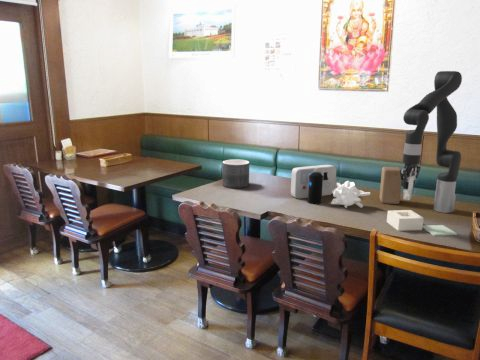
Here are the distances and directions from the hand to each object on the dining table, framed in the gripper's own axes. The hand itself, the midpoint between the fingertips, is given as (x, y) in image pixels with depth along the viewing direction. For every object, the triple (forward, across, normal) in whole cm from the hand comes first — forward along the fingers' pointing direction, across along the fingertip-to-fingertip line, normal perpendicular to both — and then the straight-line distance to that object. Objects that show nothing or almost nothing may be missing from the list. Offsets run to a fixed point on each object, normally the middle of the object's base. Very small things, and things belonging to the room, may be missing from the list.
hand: (408, 188), depth 192 cm
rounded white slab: (+19, +1, +63) cm, 66 cm away
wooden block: (+20, +29, +28) cm, 45 cm away
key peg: (+5, 0, 0) cm, 5 cm away
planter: (+19, -24, +109) cm, 114 cm away
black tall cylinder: (+19, -8, +52) cm, 56 cm away
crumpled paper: (+19, +2, +37) cm, 42 cm away
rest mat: (+19, +7, -13) cm, 24 cm away
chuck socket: (+19, 0, 0) cm, 19 cm away
